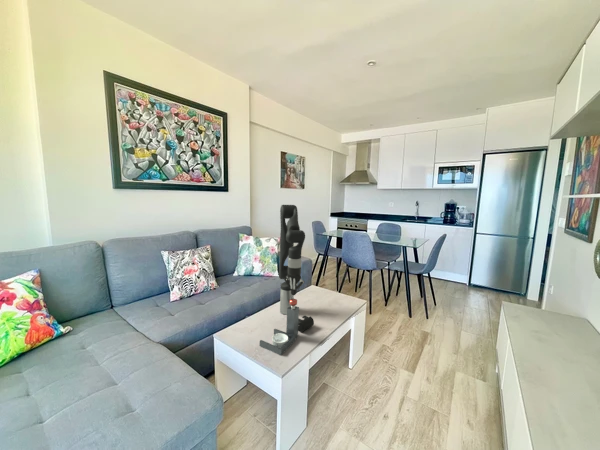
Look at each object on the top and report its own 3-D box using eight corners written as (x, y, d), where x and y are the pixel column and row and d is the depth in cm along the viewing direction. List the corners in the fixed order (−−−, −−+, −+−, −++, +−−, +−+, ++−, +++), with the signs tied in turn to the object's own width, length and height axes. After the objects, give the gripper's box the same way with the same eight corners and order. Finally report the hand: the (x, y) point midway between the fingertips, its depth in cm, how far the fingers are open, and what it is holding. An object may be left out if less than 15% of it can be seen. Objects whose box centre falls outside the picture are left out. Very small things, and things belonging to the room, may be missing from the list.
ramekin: (268, 345, 133) (268, 338, 133) (278, 338, 140) (278, 331, 140) (281, 352, 128) (281, 344, 128) (291, 344, 135) (291, 336, 135)
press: (279, 329, 149) (280, 301, 147) (299, 336, 142) (300, 307, 140) (259, 345, 133) (259, 315, 130) (281, 355, 126) (281, 322, 123)
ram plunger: (291, 315, 143) (292, 297, 142) (297, 317, 141) (298, 299, 140) (287, 318, 140) (288, 300, 138) (294, 321, 138) (294, 302, 136)
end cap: (303, 334, 145) (303, 324, 144) (294, 329, 150) (295, 319, 149) (313, 328, 152) (314, 318, 151) (305, 323, 157) (305, 313, 156)
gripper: (308, 266, 136) (306, 295, 138) (288, 261, 142) (287, 289, 145) (301, 269, 129) (300, 300, 132) (281, 265, 136) (280, 294, 138)
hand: (293, 294), depth 138 cm, fingers closed
